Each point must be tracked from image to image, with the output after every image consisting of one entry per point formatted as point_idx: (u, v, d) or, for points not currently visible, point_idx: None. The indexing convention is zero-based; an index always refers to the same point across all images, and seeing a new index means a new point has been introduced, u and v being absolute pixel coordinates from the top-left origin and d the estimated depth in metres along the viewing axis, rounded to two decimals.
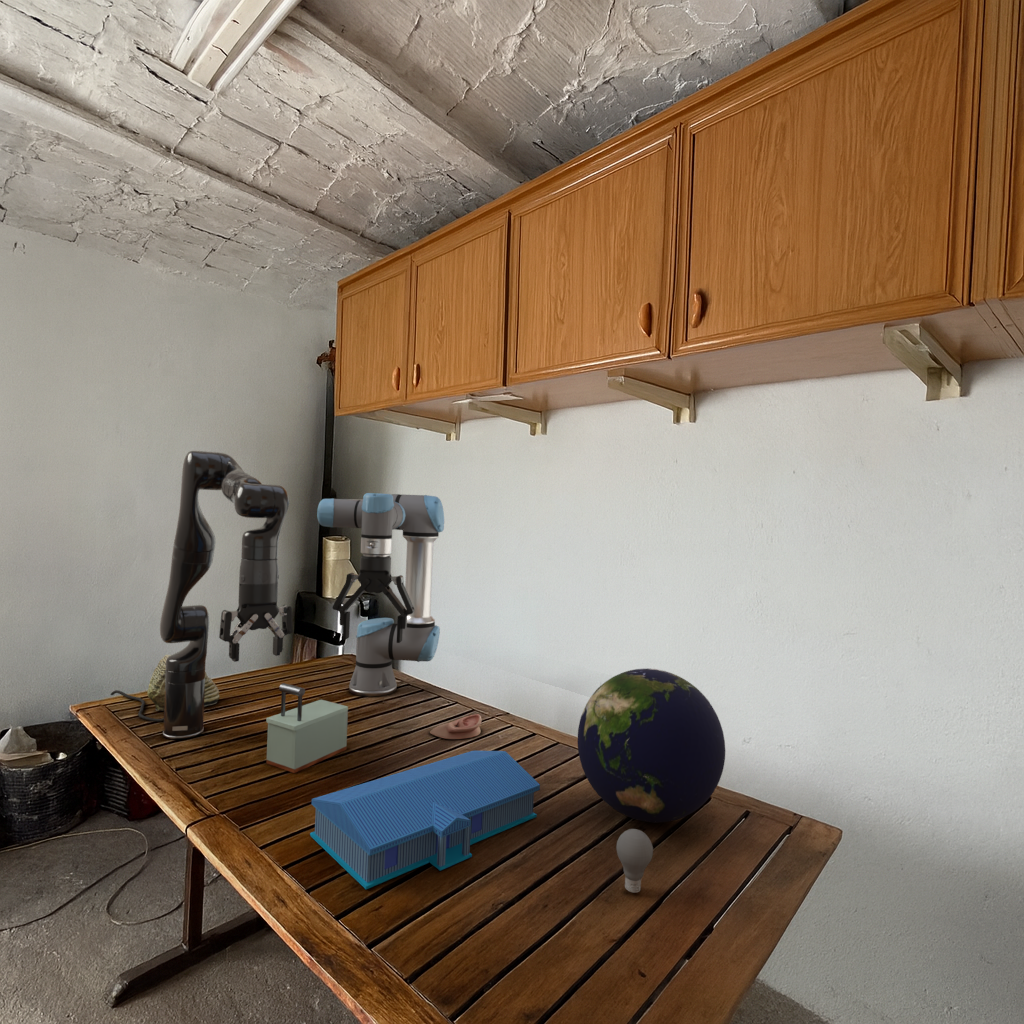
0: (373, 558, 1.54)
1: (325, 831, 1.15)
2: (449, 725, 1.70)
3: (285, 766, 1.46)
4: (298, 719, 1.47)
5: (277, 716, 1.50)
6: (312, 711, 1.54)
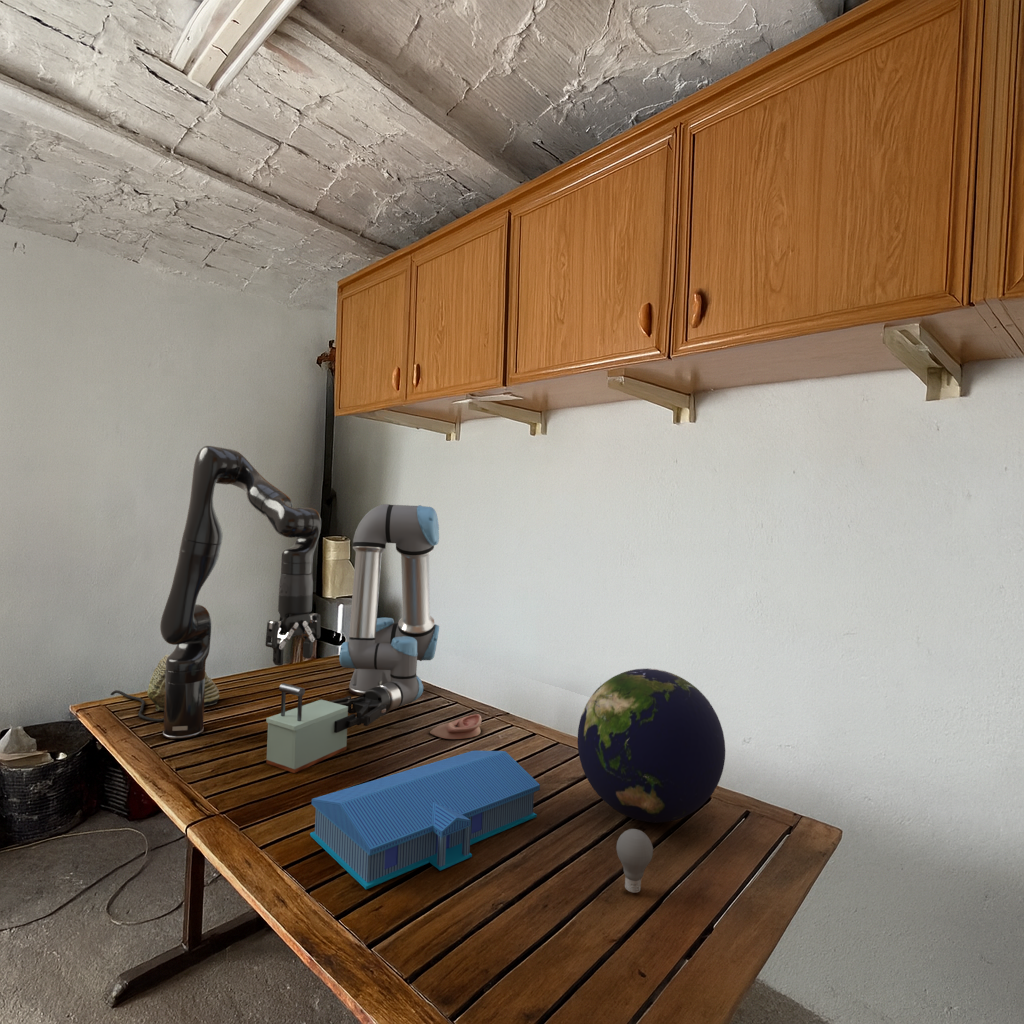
0: None
1: (325, 831, 1.15)
2: (449, 725, 1.70)
3: (285, 766, 1.46)
4: (298, 719, 1.47)
5: (277, 716, 1.50)
6: (312, 711, 1.54)
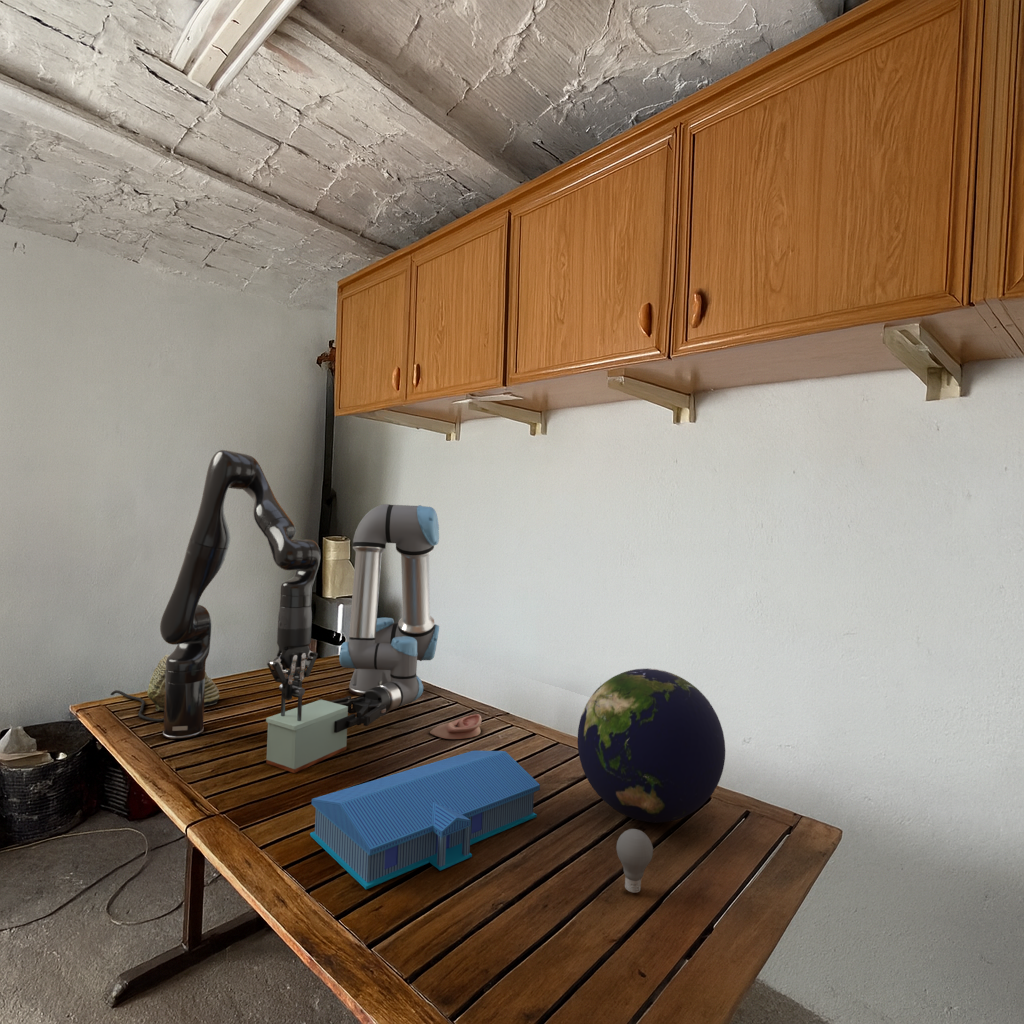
0: None
1: (325, 831, 1.15)
2: (449, 725, 1.70)
3: (285, 766, 1.46)
4: (298, 719, 1.47)
5: (277, 716, 1.50)
6: (312, 711, 1.54)
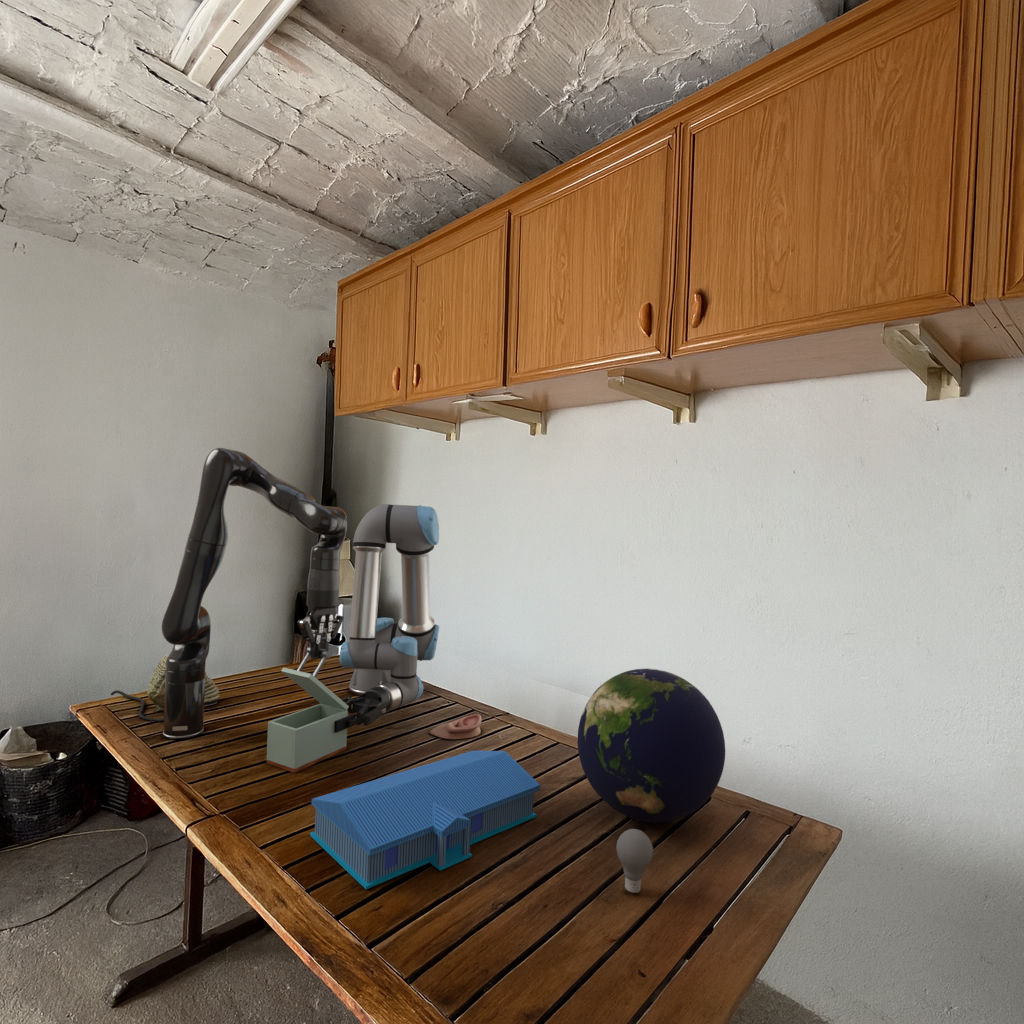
0: None
1: (325, 831, 1.15)
2: (449, 725, 1.70)
3: (285, 765, 1.46)
4: None
5: None
6: None
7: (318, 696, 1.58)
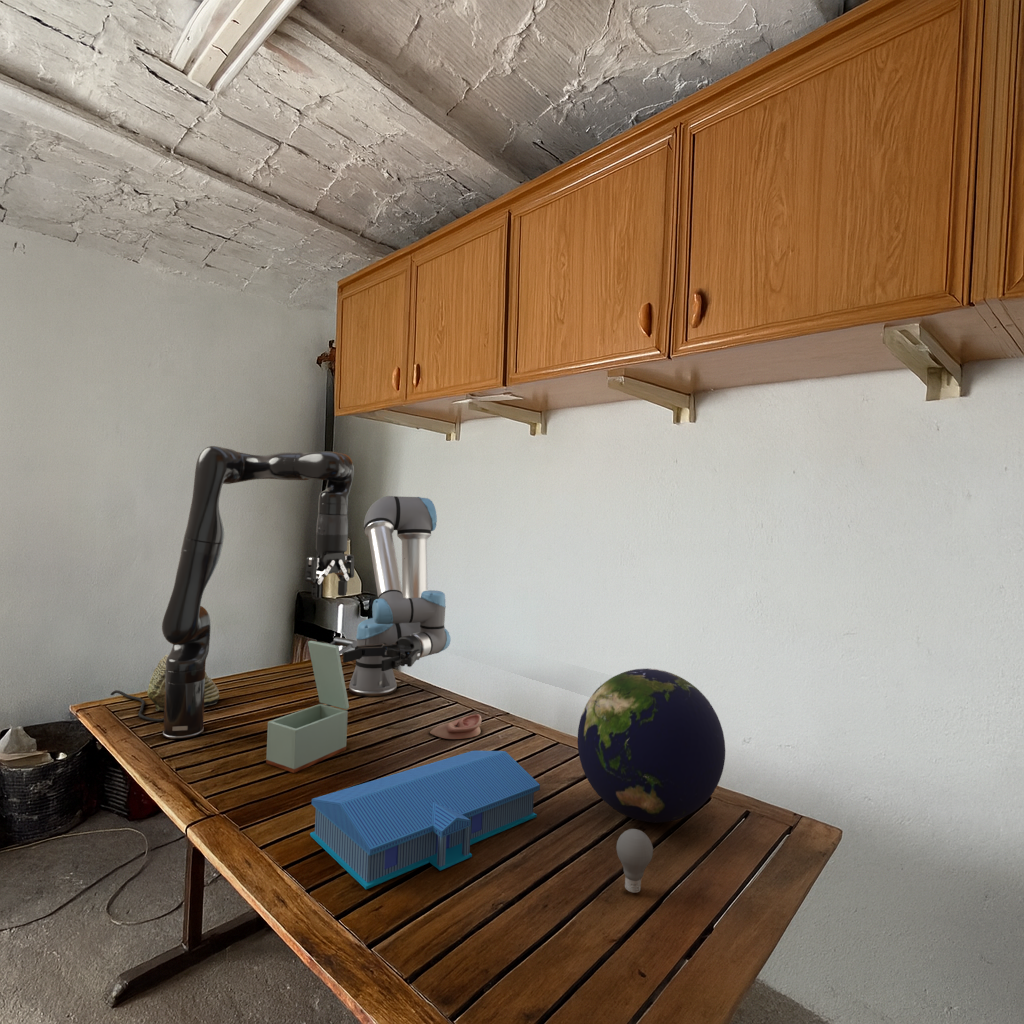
0: None
1: (325, 831, 1.15)
2: (449, 725, 1.70)
3: (285, 765, 1.46)
4: None
5: None
6: None
7: (325, 687, 1.60)
